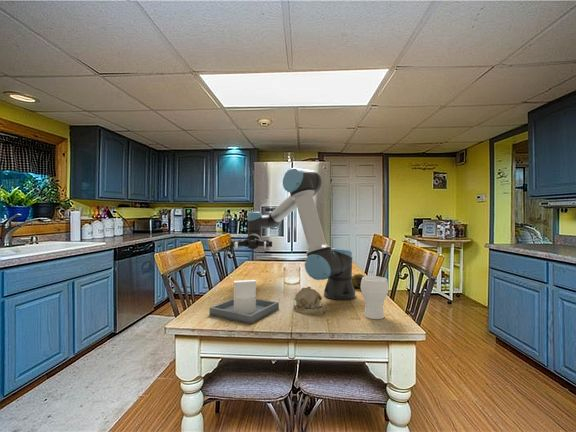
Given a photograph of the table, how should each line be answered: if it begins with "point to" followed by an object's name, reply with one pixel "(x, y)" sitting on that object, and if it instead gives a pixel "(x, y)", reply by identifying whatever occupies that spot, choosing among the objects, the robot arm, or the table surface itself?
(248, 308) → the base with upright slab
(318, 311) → the ceramic model
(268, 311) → the box
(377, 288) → the cup
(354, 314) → the table surface
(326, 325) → the table surface
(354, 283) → the potato
